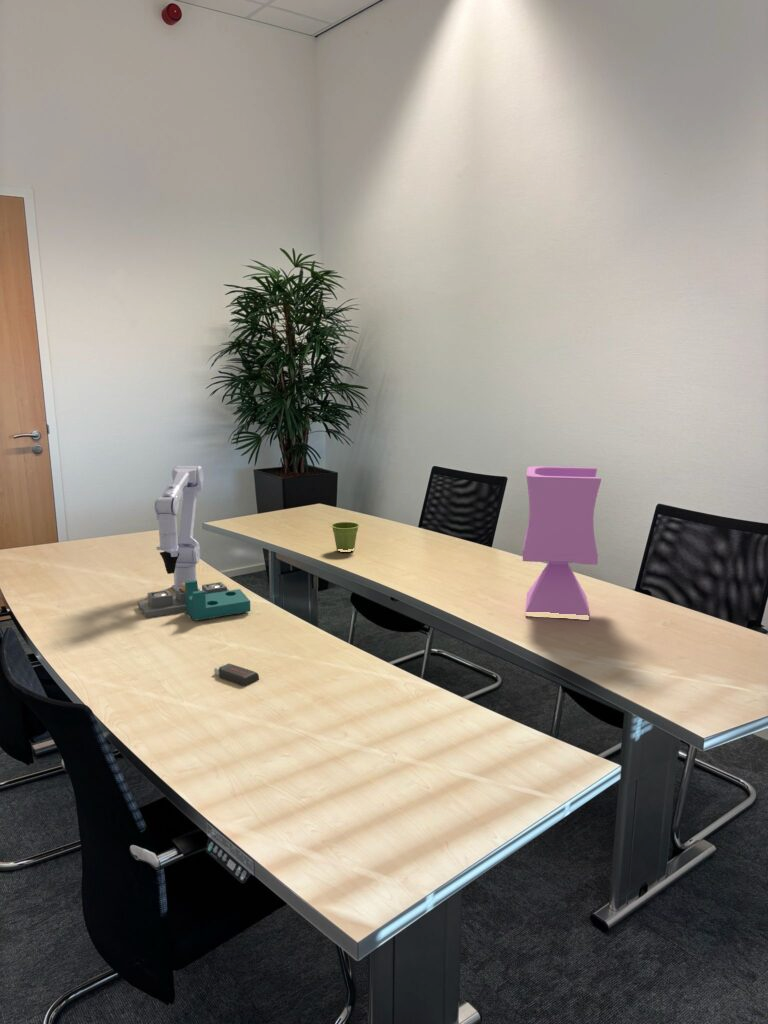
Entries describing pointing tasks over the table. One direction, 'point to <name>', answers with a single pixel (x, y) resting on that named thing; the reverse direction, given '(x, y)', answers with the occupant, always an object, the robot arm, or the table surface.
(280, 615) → the table surface
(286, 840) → the table surface
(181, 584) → the middle knob
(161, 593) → the knob
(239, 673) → the usb drive
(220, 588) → the control panel
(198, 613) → the teal l-shaped bracket
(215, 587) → the knob
